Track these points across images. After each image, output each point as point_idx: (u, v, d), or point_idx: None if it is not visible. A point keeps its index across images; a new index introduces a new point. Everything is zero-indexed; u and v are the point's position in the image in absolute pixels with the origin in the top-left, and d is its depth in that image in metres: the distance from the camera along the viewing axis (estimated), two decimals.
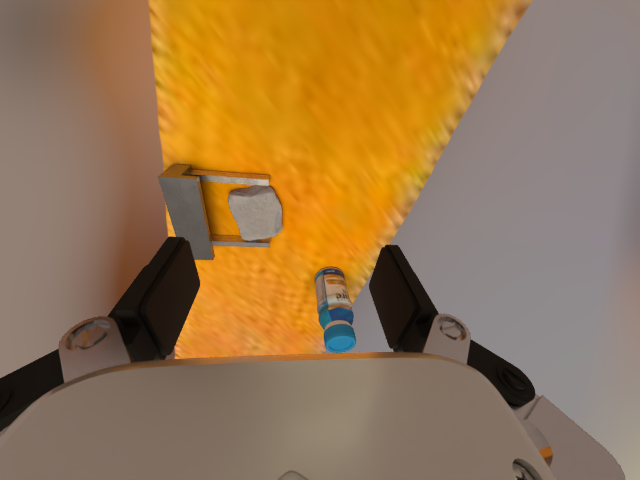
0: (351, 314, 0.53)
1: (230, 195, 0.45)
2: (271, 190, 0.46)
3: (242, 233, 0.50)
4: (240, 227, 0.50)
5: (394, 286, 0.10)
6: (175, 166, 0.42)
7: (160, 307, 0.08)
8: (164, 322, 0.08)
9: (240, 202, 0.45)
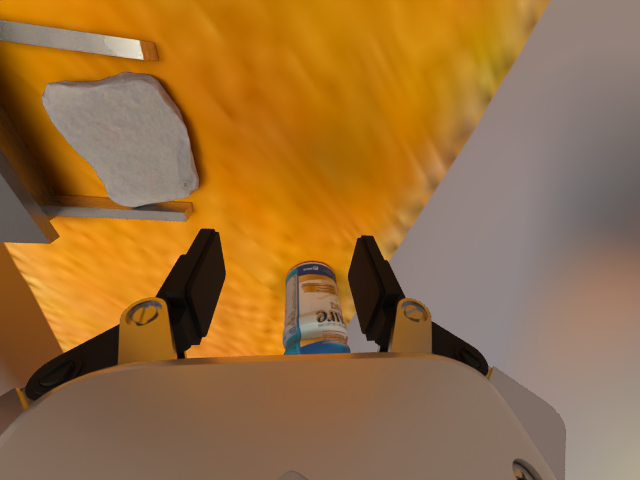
0: None
1: None
2: (150, 80, 0.20)
3: (109, 189, 0.24)
4: (101, 175, 0.23)
5: (366, 274, 0.10)
6: None
7: (200, 291, 0.09)
8: (202, 306, 0.09)
9: (67, 102, 0.19)
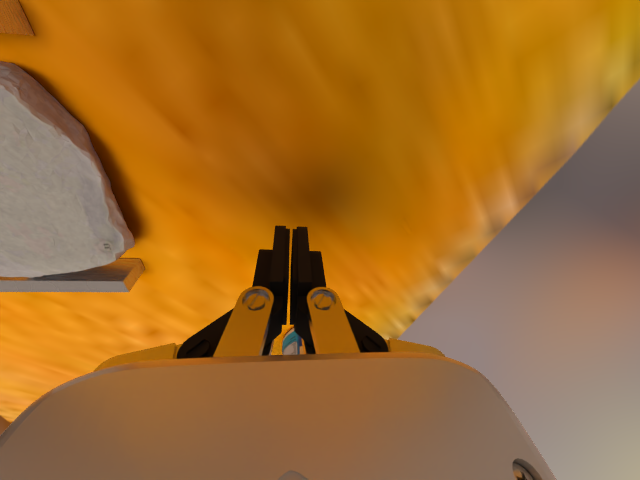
0: None
1: None
2: (0, 75, 0.10)
3: None
4: None
5: (292, 264, 0.10)
6: None
7: None
8: None
9: None
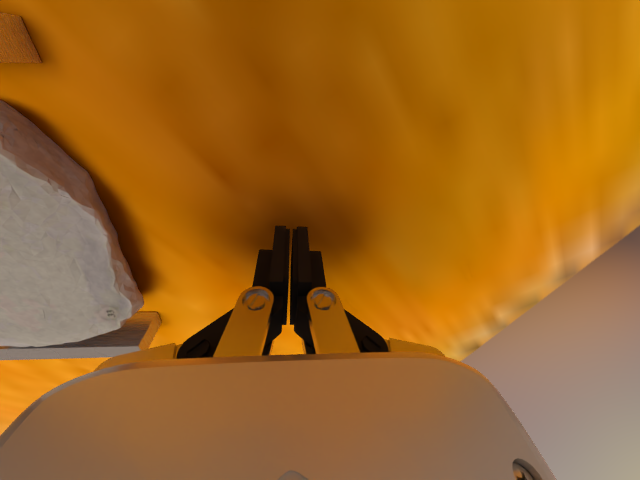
0: None
1: None
2: None
3: None
4: None
5: (292, 264, 0.10)
6: None
7: None
8: None
9: None
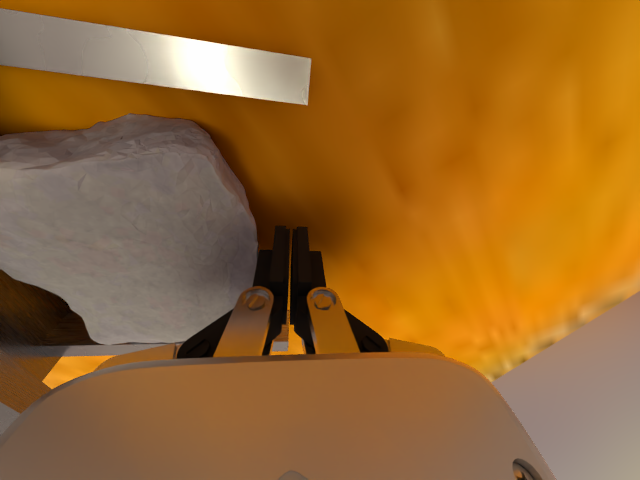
0: None
1: None
2: (197, 141, 0.09)
3: (94, 328, 0.12)
4: (77, 308, 0.12)
5: (292, 264, 0.10)
6: None
7: None
8: None
9: None
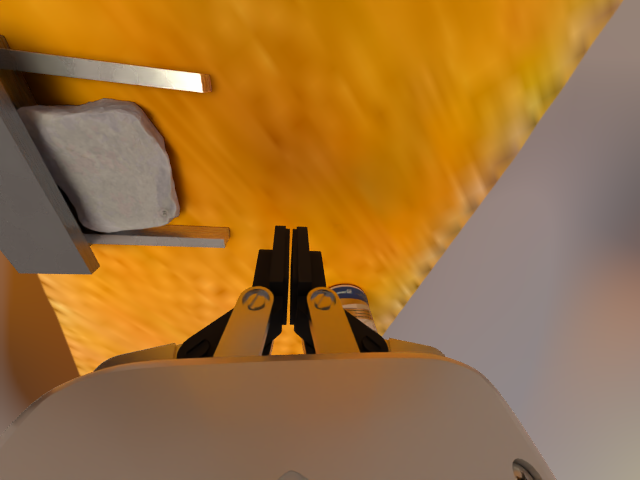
0: None
1: None
2: (132, 109, 0.19)
3: (81, 214, 0.22)
4: (73, 200, 0.22)
5: (292, 264, 0.10)
6: None
7: None
8: None
9: (38, 128, 0.18)
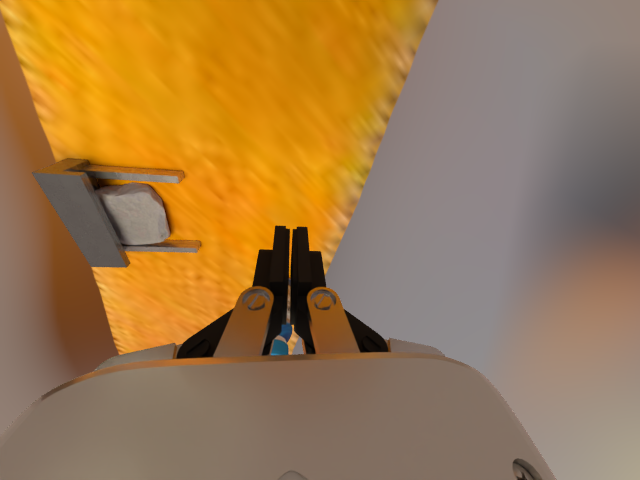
0: (287, 327, 0.47)
1: None
2: (147, 190, 0.40)
3: (119, 236, 0.44)
4: (115, 229, 0.43)
5: (292, 264, 0.10)
6: (65, 162, 0.37)
7: None
8: None
9: (104, 201, 0.39)
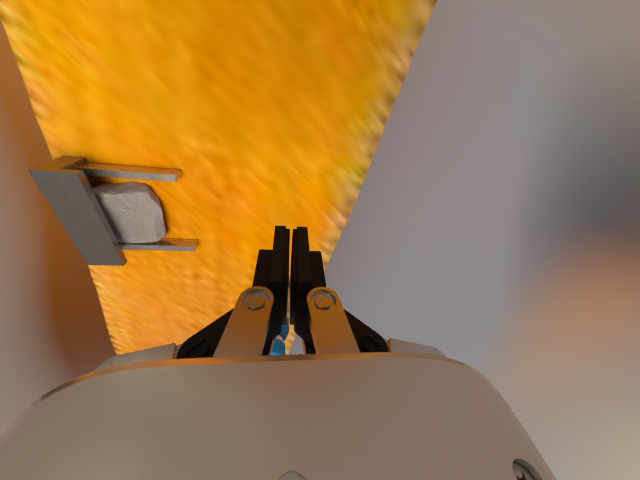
0: (284, 326, 0.47)
1: None
2: (145, 189, 0.41)
3: (114, 234, 0.44)
4: (111, 227, 0.43)
5: (292, 264, 0.10)
6: (62, 159, 0.37)
7: None
8: None
9: (101, 199, 0.39)
